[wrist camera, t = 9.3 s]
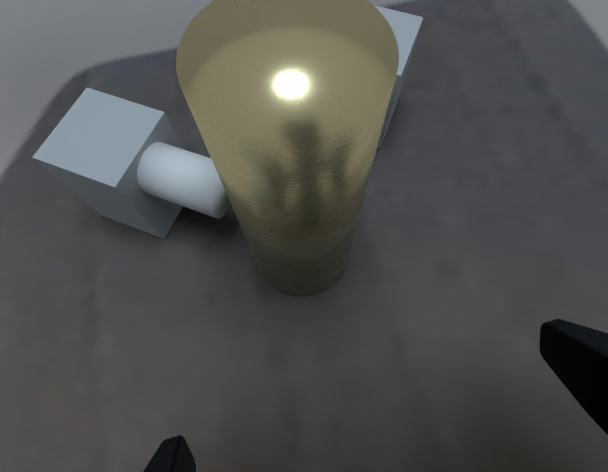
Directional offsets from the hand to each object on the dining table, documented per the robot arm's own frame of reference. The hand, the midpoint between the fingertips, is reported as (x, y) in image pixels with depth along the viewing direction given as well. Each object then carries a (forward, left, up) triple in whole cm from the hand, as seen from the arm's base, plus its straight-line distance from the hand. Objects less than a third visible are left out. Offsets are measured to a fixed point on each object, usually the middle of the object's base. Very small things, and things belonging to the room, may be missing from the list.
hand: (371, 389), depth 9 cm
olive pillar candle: (+5, +5, -9) cm, 11 cm away
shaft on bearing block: (+4, +12, -9) cm, 15 cm away
